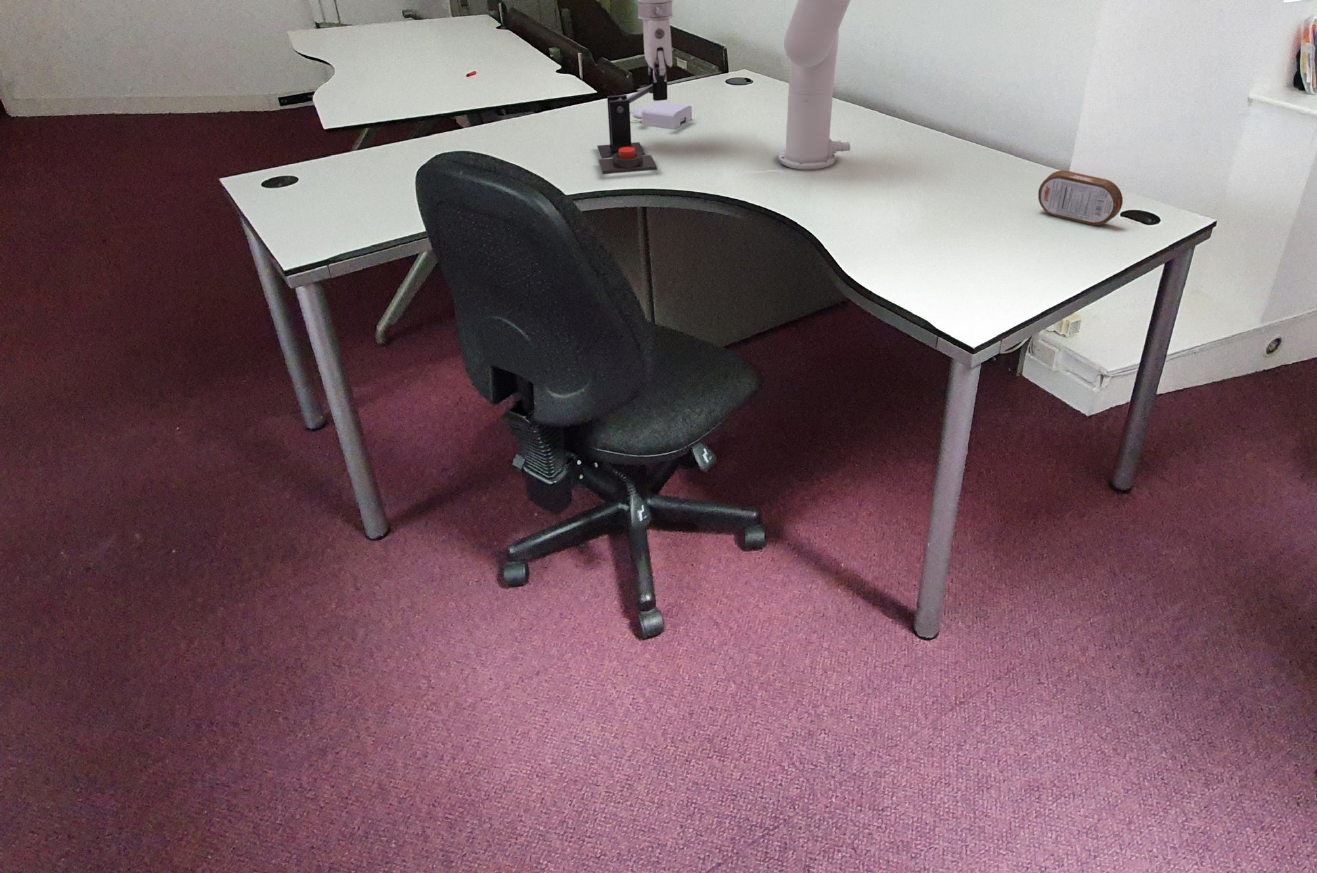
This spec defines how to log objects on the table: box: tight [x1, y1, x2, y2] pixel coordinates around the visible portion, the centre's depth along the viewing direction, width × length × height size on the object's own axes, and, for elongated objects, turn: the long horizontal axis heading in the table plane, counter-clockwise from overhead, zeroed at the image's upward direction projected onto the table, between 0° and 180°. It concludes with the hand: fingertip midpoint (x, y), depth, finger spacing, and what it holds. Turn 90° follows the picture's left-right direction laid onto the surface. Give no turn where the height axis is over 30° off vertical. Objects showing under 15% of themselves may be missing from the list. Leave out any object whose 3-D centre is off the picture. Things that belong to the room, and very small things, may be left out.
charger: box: [630, 101, 693, 130], centre depth 235 cm, size 5×9×15 cm
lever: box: [617, 79, 654, 104], centre depth 211 cm, size 12×6×2 cm, turn 99°
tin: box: [1037, 170, 1124, 226], centre depth 176 cm, size 15×3×8 cm, turn 48°
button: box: [619, 147, 635, 159], centre depth 206 cm, size 4×4×2 cm
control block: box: [598, 151, 658, 175], centre depth 208 cm, size 12×8×4 cm, turn 99°
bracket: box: [597, 94, 646, 159], centre depth 214 cm, size 10×9×13 cm
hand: (657, 95), depth 212 cm, fingers closed on lever, 5 cm apart
